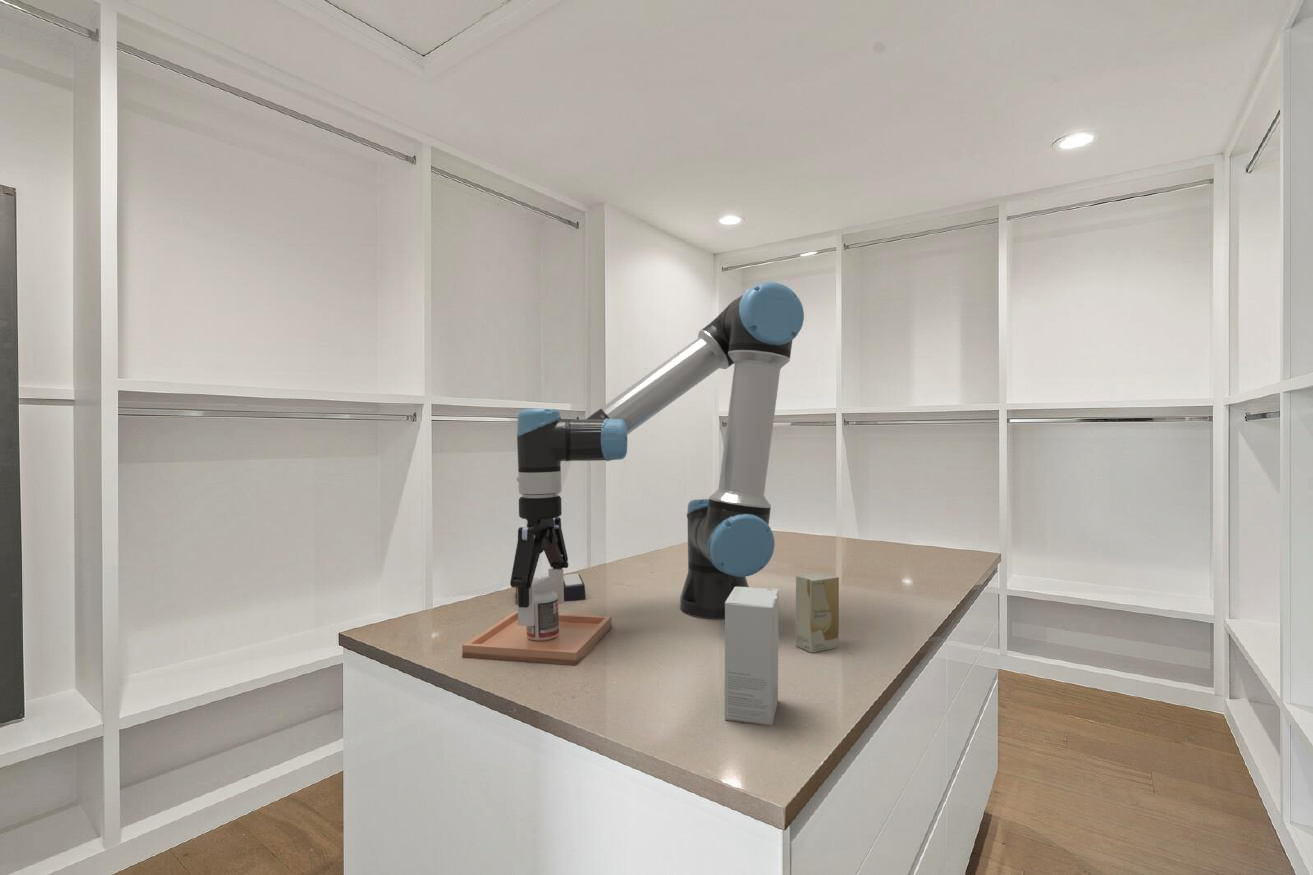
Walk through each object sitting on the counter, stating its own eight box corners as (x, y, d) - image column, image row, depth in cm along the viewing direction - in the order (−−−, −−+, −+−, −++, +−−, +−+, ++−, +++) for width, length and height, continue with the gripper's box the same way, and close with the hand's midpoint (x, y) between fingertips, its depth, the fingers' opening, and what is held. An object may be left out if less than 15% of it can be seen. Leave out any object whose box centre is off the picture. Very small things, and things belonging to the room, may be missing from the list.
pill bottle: (562, 631, 116) (561, 577, 116) (554, 642, 111) (553, 585, 111) (531, 631, 117) (530, 577, 117) (522, 641, 111) (521, 585, 111)
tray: (611, 627, 121) (611, 616, 121) (575, 665, 102) (575, 652, 102) (514, 621, 126) (514, 611, 126) (462, 657, 106) (462, 645, 106)
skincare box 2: (811, 654, 106) (811, 580, 106) (794, 646, 110) (793, 575, 109) (840, 647, 109) (840, 576, 108) (823, 640, 112) (822, 571, 112)
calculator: (515, 578, 149) (579, 571, 152) (516, 596, 149) (580, 589, 152) (515, 589, 138) (584, 581, 141) (516, 609, 138) (585, 600, 141)
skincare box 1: (734, 695, 90) (733, 585, 90) (781, 700, 88) (780, 588, 88) (723, 721, 82) (721, 600, 81) (775, 728, 80) (773, 604, 80)
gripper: (547, 488, 126) (549, 594, 127) (487, 503, 102) (489, 634, 102) (583, 488, 125) (585, 596, 125) (530, 503, 100) (533, 637, 101)
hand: (542, 613), depth 114 cm, fingers open, 13 cm apart
